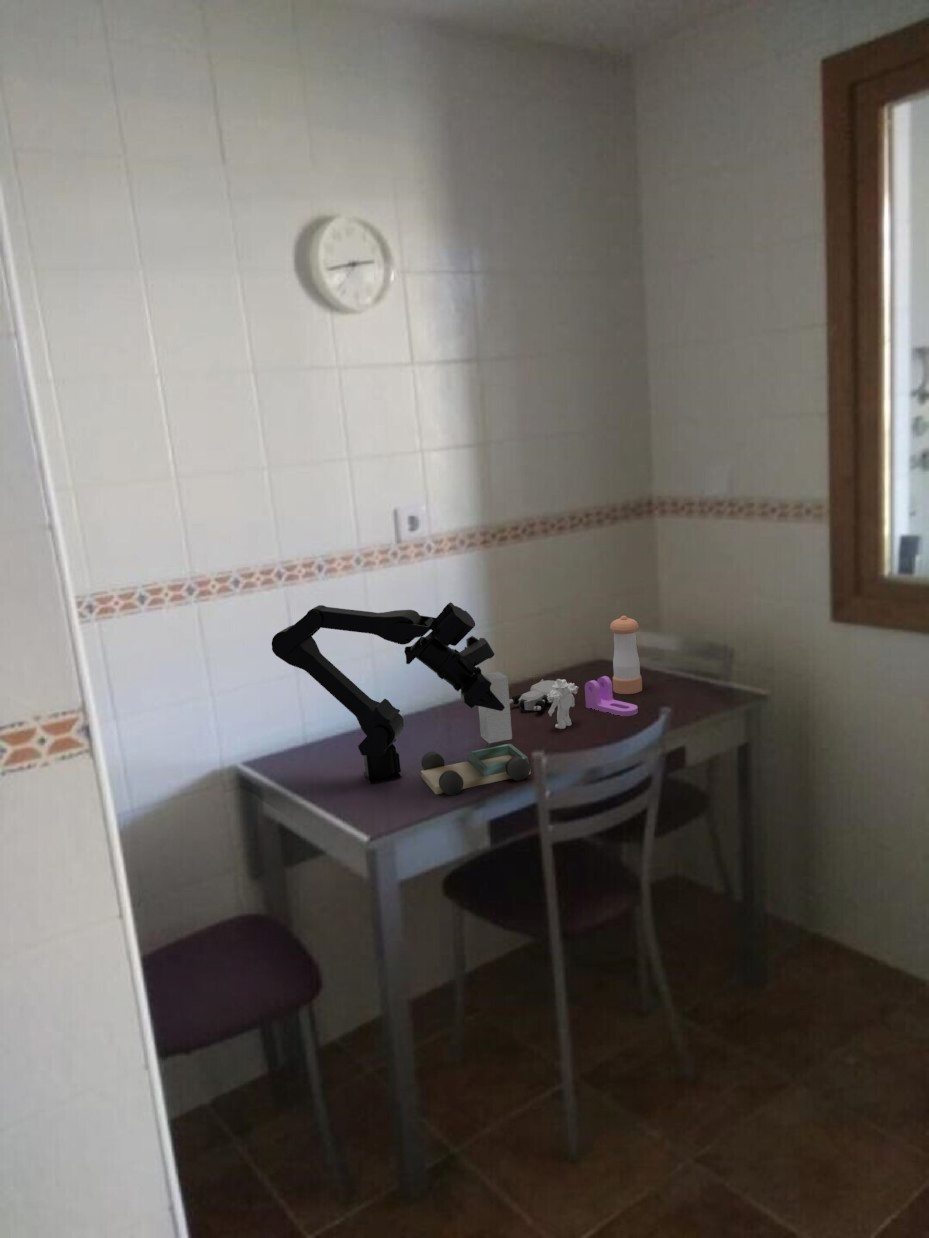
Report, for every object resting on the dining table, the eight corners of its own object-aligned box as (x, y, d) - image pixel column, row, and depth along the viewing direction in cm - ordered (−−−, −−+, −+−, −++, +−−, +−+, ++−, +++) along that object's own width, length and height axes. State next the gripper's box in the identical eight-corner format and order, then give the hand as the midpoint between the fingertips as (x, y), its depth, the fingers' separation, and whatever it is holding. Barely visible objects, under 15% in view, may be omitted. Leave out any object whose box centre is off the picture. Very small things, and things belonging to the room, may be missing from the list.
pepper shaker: (611, 694, 238) (606, 619, 234) (615, 685, 245) (611, 613, 241) (640, 694, 236) (636, 619, 232) (643, 685, 243) (640, 612, 239)
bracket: (586, 707, 230) (584, 680, 228) (601, 702, 233) (600, 674, 232) (626, 718, 220) (625, 689, 218) (642, 712, 223) (641, 683, 222)
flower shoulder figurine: (557, 733, 214) (554, 681, 211) (544, 729, 216) (540, 679, 214) (583, 721, 220) (580, 671, 217) (570, 718, 222) (566, 669, 220)
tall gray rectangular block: (488, 743, 191) (484, 681, 188) (480, 736, 196) (475, 675, 193) (512, 738, 192) (507, 677, 190) (503, 731, 197) (498, 671, 194)
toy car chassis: (439, 798, 183) (436, 776, 182) (418, 774, 196) (416, 754, 195) (534, 777, 189) (532, 756, 188) (508, 755, 202) (507, 736, 201)
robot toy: (540, 721, 225) (582, 700, 235) (537, 703, 224) (580, 683, 233) (504, 712, 235) (546, 692, 244) (501, 695, 233) (544, 675, 243)
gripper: (476, 638, 180) (537, 686, 184) (459, 618, 198) (514, 663, 202) (439, 683, 180) (500, 730, 184) (425, 660, 198) (481, 703, 202)
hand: (500, 705), depth 193 cm, fingers closed on tall gray rectangular block, 5 cm apart
